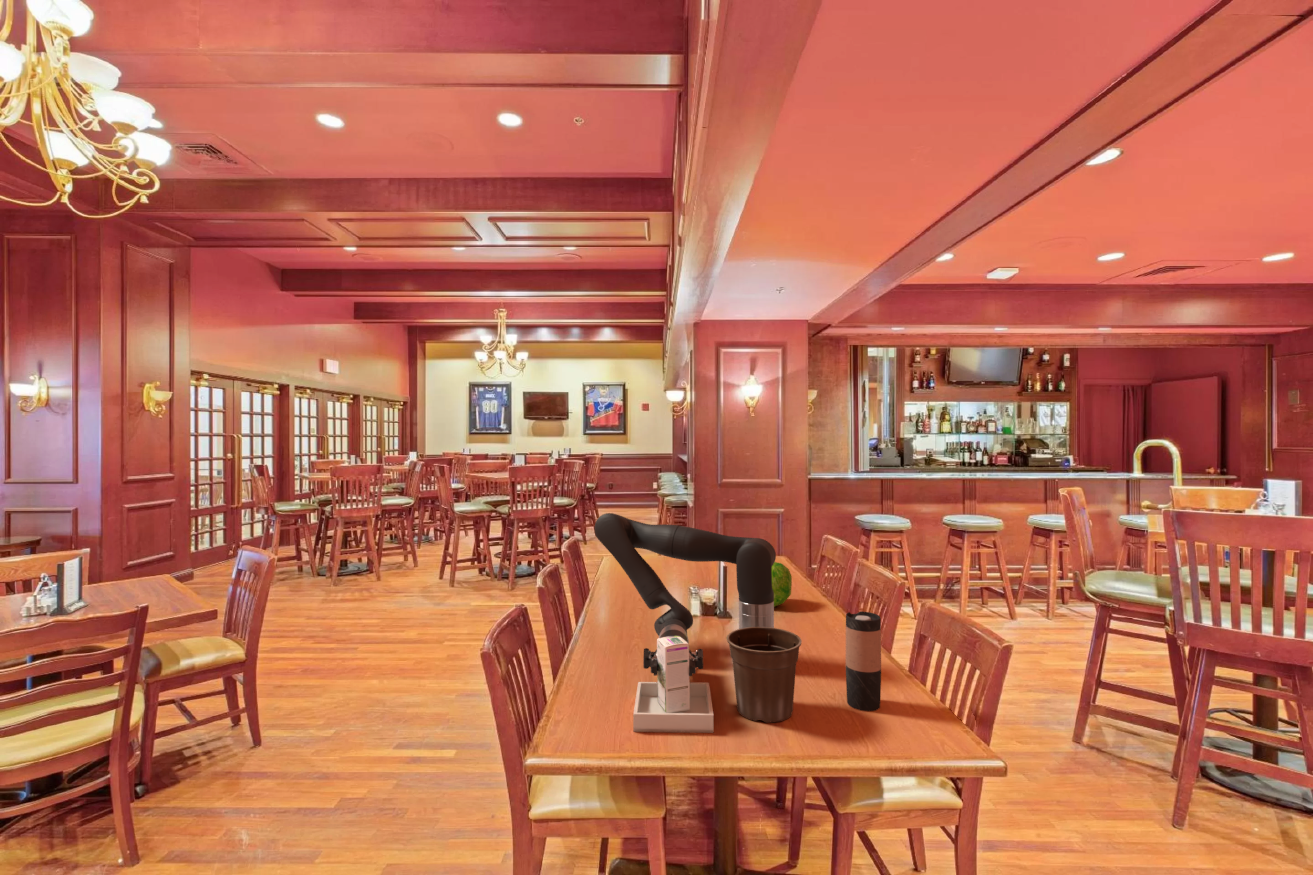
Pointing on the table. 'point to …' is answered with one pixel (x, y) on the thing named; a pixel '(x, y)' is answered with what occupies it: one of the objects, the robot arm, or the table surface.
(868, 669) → the travel mug
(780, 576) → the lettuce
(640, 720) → the tray
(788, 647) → the plant pot
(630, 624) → the table surface
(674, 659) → the syrup box
